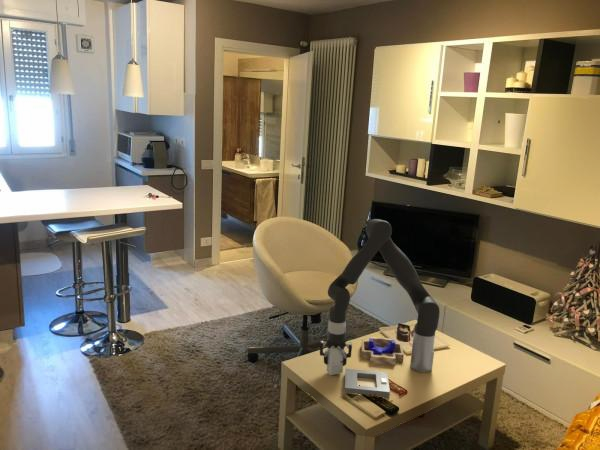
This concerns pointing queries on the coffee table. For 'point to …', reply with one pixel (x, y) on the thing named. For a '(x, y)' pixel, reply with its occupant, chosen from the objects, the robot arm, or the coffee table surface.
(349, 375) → the socket plate
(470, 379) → the coffee table surface
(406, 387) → the coffee table surface
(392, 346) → the cable clip
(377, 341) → the tray
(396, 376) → the coffee table surface
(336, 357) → the skincare box
